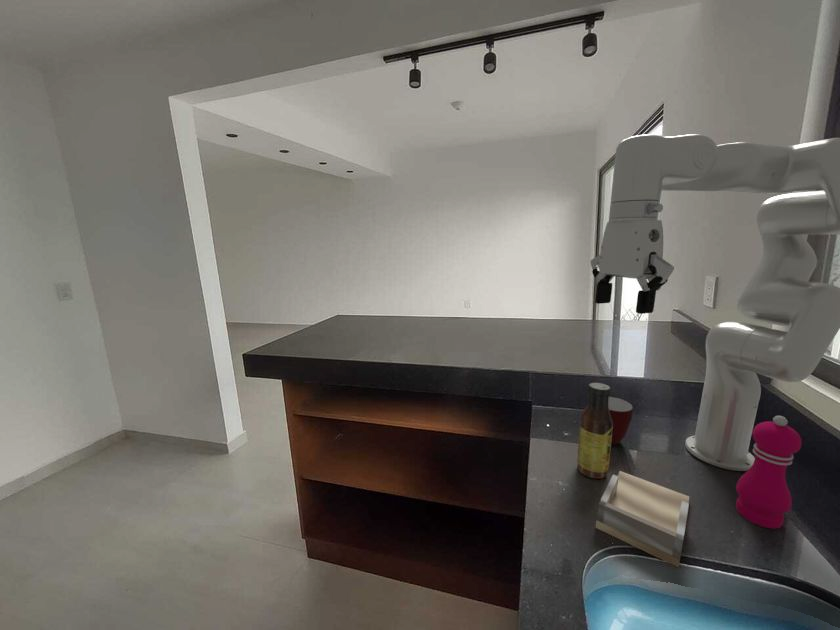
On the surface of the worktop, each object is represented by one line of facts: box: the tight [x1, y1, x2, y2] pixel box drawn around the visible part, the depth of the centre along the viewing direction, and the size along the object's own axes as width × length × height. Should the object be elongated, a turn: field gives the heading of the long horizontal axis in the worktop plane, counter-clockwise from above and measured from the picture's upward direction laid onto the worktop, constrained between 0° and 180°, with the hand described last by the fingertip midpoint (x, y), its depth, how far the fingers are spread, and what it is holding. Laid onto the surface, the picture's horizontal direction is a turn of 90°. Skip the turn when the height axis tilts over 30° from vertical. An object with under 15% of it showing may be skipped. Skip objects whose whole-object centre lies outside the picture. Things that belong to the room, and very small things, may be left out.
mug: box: [608, 396, 634, 446], centre depth 89 cm, size 11×8×10 cm
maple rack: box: [595, 470, 690, 568], centre depth 65 cm, size 18×12×5 cm, turn 139°
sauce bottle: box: [576, 382, 613, 480], centre depth 75 cm, size 7×6×20 cm
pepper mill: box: [735, 415, 802, 529], centre depth 63 cm, size 7×7×20 cm
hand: (622, 307), depth 66 cm, fingers open, 9 cm apart
